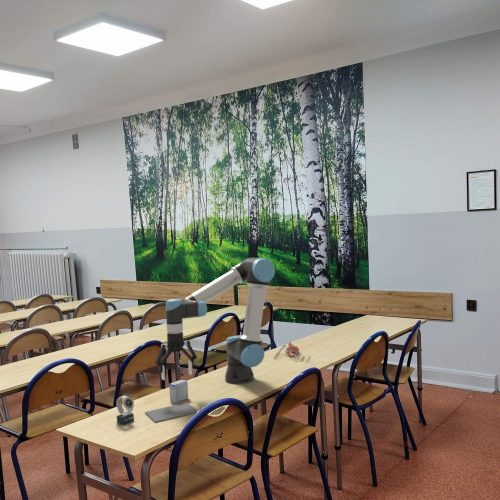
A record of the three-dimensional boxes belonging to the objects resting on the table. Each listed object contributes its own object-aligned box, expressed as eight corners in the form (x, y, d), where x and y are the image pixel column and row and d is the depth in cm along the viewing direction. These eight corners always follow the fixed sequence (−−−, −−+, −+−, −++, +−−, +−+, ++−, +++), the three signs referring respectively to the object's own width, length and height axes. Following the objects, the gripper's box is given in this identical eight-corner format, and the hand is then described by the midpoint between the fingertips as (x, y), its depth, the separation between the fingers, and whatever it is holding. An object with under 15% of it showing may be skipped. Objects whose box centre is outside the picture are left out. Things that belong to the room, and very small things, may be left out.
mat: (186, 403, 243) (186, 402, 243) (199, 412, 231) (198, 411, 231) (144, 413, 234) (144, 412, 234) (155, 422, 221) (155, 421, 221)
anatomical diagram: (284, 340, 329) (318, 342, 313) (289, 352, 332) (323, 355, 316) (267, 360, 315) (302, 364, 299) (272, 372, 318) (306, 376, 302)
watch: (127, 425, 220) (125, 399, 219) (114, 422, 224) (112, 397, 224) (137, 421, 224) (135, 395, 224) (124, 418, 229) (122, 393, 228)
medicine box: (182, 397, 253) (181, 379, 253) (188, 398, 250) (187, 380, 250) (169, 401, 247) (168, 383, 247) (176, 403, 244) (175, 385, 244)
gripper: (196, 327, 257) (198, 370, 257) (146, 334, 245) (149, 379, 245) (202, 329, 250) (204, 374, 251) (151, 337, 238) (154, 383, 239)
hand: (177, 376), depth 248 cm, fingers open, 13 cm apart
